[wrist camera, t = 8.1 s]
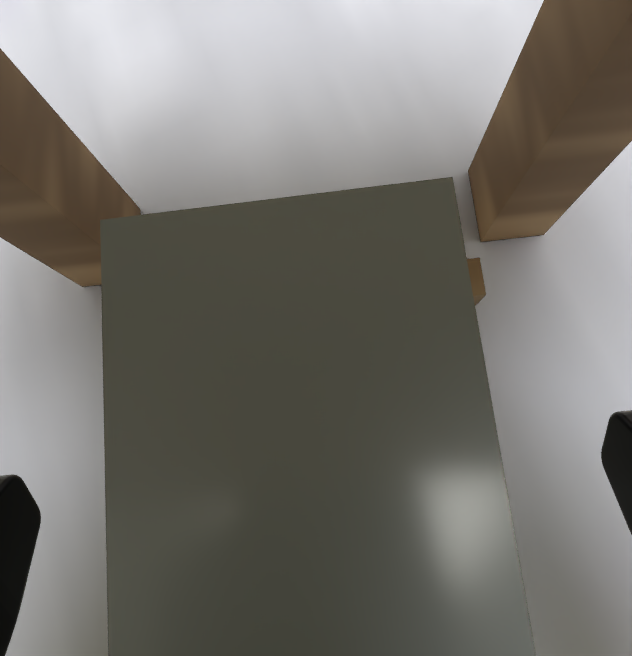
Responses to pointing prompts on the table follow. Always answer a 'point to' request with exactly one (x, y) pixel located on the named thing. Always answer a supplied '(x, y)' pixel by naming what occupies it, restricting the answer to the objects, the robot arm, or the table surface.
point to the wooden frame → (484, 173)
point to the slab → (303, 433)
